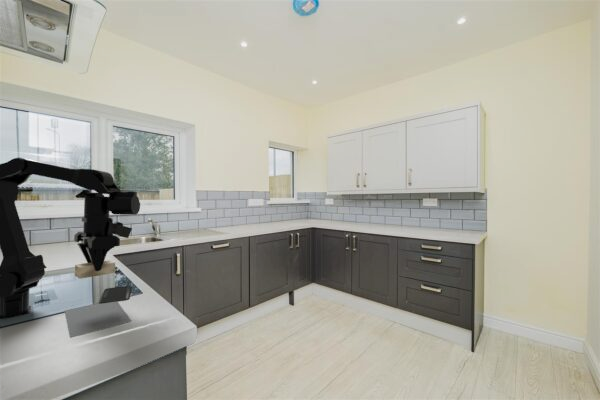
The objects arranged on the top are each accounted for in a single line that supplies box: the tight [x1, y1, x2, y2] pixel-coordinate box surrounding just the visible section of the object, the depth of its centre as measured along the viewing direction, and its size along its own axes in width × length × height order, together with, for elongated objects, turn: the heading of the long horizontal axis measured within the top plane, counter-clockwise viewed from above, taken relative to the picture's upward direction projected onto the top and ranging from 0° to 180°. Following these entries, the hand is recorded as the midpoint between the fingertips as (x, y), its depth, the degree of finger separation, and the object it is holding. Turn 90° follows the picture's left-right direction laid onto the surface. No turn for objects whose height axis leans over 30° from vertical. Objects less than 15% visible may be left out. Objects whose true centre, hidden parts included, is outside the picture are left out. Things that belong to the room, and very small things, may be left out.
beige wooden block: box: [74, 259, 116, 280], centre depth 74 cm, size 8×5×3 cm, turn 142°
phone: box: [98, 285, 133, 304], centre depth 86 cm, size 8×1×15 cm
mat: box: [64, 301, 133, 338], centre depth 70 cm, size 20×12×1 cm, turn 45°
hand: (95, 269), depth 74 cm, fingers closed on beige wooden block, 5 cm apart
